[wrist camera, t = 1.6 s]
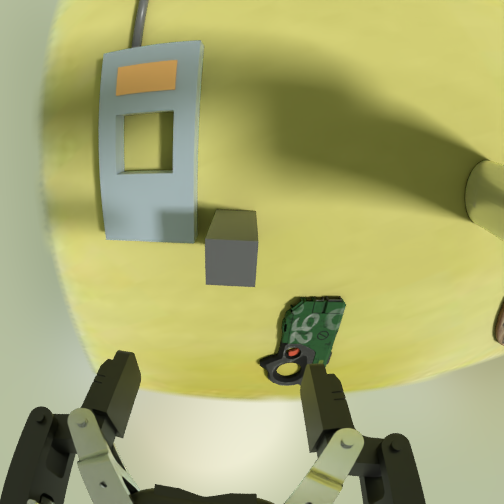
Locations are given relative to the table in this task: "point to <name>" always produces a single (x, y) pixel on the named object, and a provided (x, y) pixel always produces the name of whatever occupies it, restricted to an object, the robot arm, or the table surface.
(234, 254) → the block
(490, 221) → the robot arm
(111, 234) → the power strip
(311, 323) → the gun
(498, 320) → the trivet
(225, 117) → the table surface
